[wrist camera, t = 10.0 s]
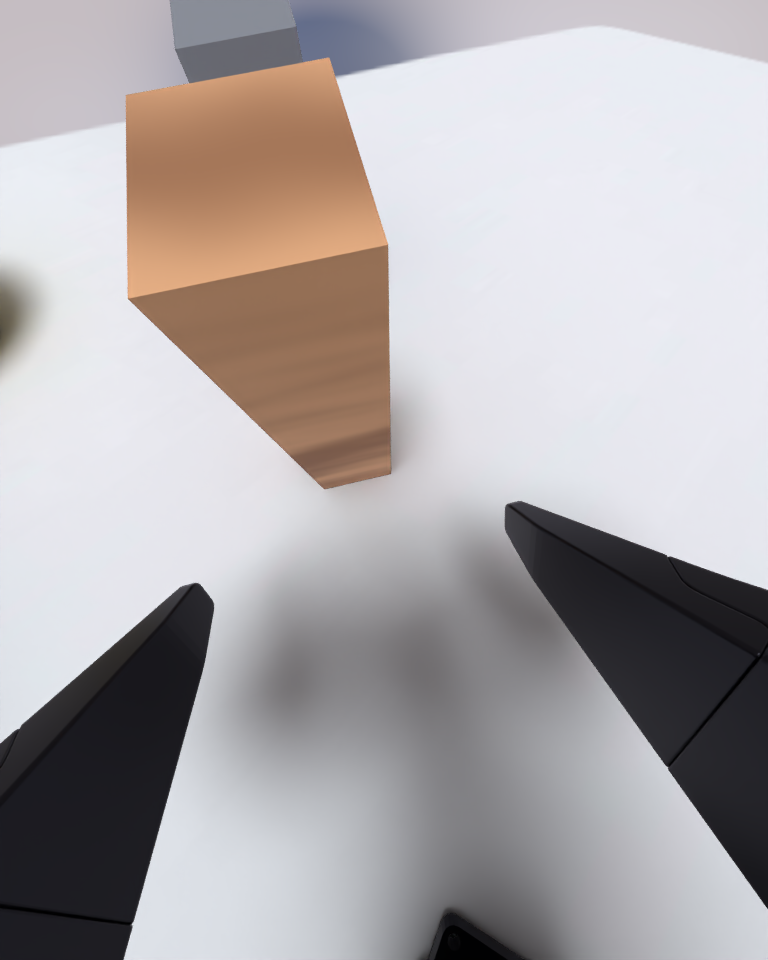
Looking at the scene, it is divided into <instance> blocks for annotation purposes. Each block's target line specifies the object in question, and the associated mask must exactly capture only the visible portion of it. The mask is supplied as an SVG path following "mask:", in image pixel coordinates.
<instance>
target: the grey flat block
mask: <svg viewBox="0 0 768 960" xmlns="http://www.w3.org/2000/svg"><path fill="white" fill-rule="evenodd" d="M170 7H171V15H172V26H173V35H174V45H175V50H176V53H177V55H178V57H179V60H180V62H181V64H182V67H183V69H184V71H185V74H186V76H187V78H188V81H189V83H194V82H200V81H205V80H211V79H216V78H221V77H227V76H232V75H238V74H243V73H249V72H254V71H259V70H265V69H270V68H276V67H281V66H287V65H292V64H297V63H303V61H302V55H301V50H300V44H299V38H298V34H297V28H296V24H295V20H294V17H293V14H292V10H291V7H290V4H289V1H288V0H170Z"/></svg>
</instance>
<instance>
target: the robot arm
mask: <svg viewBox="0 0 768 960" xmlns="http://www.w3.org/2000/svg"><path fill="white" fill-rule="evenodd" d="M505 530H506V533H507V535H508V537H509V538H510V540H511V542H512V544H513V546H514V547H515V549H516V551H517V553H518V554H519V556H520V558H521V560H522V562H523V563H524V565H525V567H526V569H527V570H528V572H529V574H530V575H531V577H532V579H533V580H534V582H535V583H536V585H537V586H538V588H539V589H540V590H541V592H542V593H543V595H544V596H545V597H546V599H547V600H548V602H549V603H550V604H551V606H552V607H553V609H554V610H555V611H556V613H557V614H558V616H559V617H560V618H561V620H562V621H563V623H564V624H565V625H566V627H567V628H568V630H569V631H570V632H571V634H572V635H573V637H574V638H575V639H576V641H577V642H578V644H579V645H580V646H581V648H582V649H583V651H584V652H585V653H586V655H587V656H588V658H589V659H590V660H591V662H592V663H593V665H594V666H595V667H596V669H597V670H598V672H599V673H600V674H601V676H602V677H603V679H604V680H605V681H606V683H607V684H608V686H609V687H610V688H611V690H612V691H613V693H614V694H615V695H616V697H617V698H618V700H619V701H620V702H621V704H622V705H623V707H624V708H625V709H626V711H627V712H628V714H629V715H630V716H631V718H632V719H633V721H634V722H635V723H636V725H637V726H638V728H639V729H640V730H641V732H642V733H643V735H644V736H645V737H646V739H647V740H648V742H649V743H650V744H651V746H652V747H653V749H654V750H655V751H656V753H657V754H658V756H659V757H660V758H661V760H662V761H663V763H664V764H665V765H666V766H667V767H668V770H669V771H670V773H671V774H672V776H673V777H674V778H675V780H676V781H677V783H678V784H679V785H680V787H681V788H682V790H683V791H684V792H685V794H686V795H687V797H688V798H689V799H690V801H691V802H692V804H693V805H694V806H695V808H696V809H697V811H698V812H699V813H700V815H701V816H702V818H703V819H704V821H705V822H706V823H707V825H708V826H709V828H710V829H711V830H712V832H713V833H714V835H715V836H716V837H717V839H718V840H719V842H720V843H721V844H722V846H723V847H724V849H725V850H726V851H727V853H728V854H729V856H730V857H731V858H732V860H733V861H734V863H735V864H736V865H737V867H738V868H739V870H740V871H741V872H742V874H743V875H744V877H745V878H746V879H747V881H748V882H749V884H750V885H751V886H752V888H753V889H754V891H755V892H756V893H757V895H758V896H759V898H760V899H761V900H762V902H763V903H764V905H765V906H766V907H767V909H768V590H766V589H763V588H760V587H757V586H754V585H751V584H748V583H745V582H742V581H739V580H736V579H733V578H730V577H726V576H724V575H721V574H718V573H715V572H712V571H710V570H707V569H704V568H701V567H698V566H695V565H693V564H690V563H687V562H685V561H682V560H679V559H676V558H674V557H671V556H669V557H667V555H665V554H663V553H660V552H657V551H655V550H652V549H649V548H646V547H644V546H641V545H638V544H636V543H633V542H630V541H628V540H625V539H622V538H619V537H617V536H614V535H611V534H609V533H606V532H603V531H600V530H598V529H595V528H592V527H590V526H587V525H584V524H582V523H579V522H576V521H573V520H571V519H568V518H565V517H563V516H560V515H557V514H555V513H552V512H549V511H546V510H544V509H541V508H538V507H536V506H533V505H530V504H528V503H525V502H522V501H517V502H513V503H509V504H507V505H506V507H505ZM213 613H214V603H213V601H212V599H211V598H210V596H209V595H208V594H207V592H206V591H205V590H204V588H203V587H202V586H201V585H200V584H198V583H192V584H188V585H185V586H182V587H180V588H179V589H178V590H176V591H175V592H174V593H173V594H172V595H171V596H170V597H168V598H167V599H166V600H165V601H164V602H163V603H162V604H160V605H159V606H158V607H157V608H156V609H155V610H153V611H152V612H151V613H150V614H149V615H148V616H147V617H145V618H144V619H143V620H142V621H141V622H140V623H139V624H137V625H136V626H135V627H134V628H133V629H132V630H130V631H129V632H128V633H127V634H126V635H125V636H124V637H122V638H121V639H120V640H119V641H118V642H117V643H116V644H114V645H113V646H112V647H111V648H110V649H109V650H107V651H106V652H105V653H104V654H103V655H102V656H101V657H99V658H98V659H97V660H96V661H95V662H94V663H93V664H91V665H90V666H89V667H88V668H87V669H86V670H84V671H83V672H82V673H81V674H80V675H79V676H78V677H76V678H75V679H74V680H73V681H72V682H71V683H70V684H68V685H67V686H66V687H65V688H64V689H63V690H61V691H60V692H59V693H58V694H57V695H56V696H55V697H53V698H52V699H51V700H50V701H49V702H48V703H47V704H45V705H44V706H43V707H42V708H41V709H40V710H38V711H37V712H36V713H35V714H34V715H33V716H32V717H30V718H29V719H28V720H27V721H26V722H25V723H24V724H22V725H21V727H20V729H17V730H15V731H14V732H13V733H12V734H11V735H10V736H8V737H7V738H6V739H5V740H4V741H3V742H2V743H0V960H124V956H125V952H126V949H127V945H128V941H129V938H130V934H131V931H132V923H133V922H134V919H135V915H136V911H137V908H138V904H139V901H140V897H141V893H142V890H143V886H144V882H145V879H146V875H147V871H148V868H149V864H150V861H151V857H152V853H153V850H154V846H155V842H156V839H157V835H158V832H159V828H160V824H161V821H162V817H163V813H164V810H165V806H166V803H167V799H168V795H169V792H170V788H171V784H172V781H173V777H174V773H175V770H176V766H177V763H178V759H179V755H180V752H181V748H182V744H183V741H184V737H185V734H186V730H187V726H188V723H189V719H190V715H191V712H192V708H193V705H194V701H195V697H196V694H197V690H198V686H199V683H200V679H201V676H202V672H203V668H204V663H205V658H206V653H207V647H208V642H209V636H210V630H211V624H212V618H213ZM453 933H455V934H457V936H456V937H454V938H451V937H449V936H450V934H453ZM428 960H524V959H522V958H521V957H519V956H518V955H516V954H515V953H513V952H512V951H510V950H509V949H507V948H506V947H504V946H503V945H501V944H500V943H498V942H497V941H495V940H494V939H492V938H491V937H489V936H488V935H486V934H485V933H483V932H482V931H480V930H479V929H477V928H476V927H474V926H473V925H471V924H470V923H468V922H467V921H465V920H464V919H462V918H461V917H459V916H458V915H456V914H453V913H450V914H447V915H445V916H444V917H443V919H442V921H441V923H440V926H439V929H438V932H437V935H436V938H435V941H434V944H433V947H432V950H431V953H430V956H429V959H428Z"/></svg>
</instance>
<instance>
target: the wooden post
mask: <svg viewBox="0 0 768 960" xmlns="http://www.w3.org/2000/svg"><path fill="white" fill-rule="evenodd" d="M126 163H127V266H128V299H129V300H130V301H131V302H132V303H133V304H134V305H135V306H136V307H137V308H138V309H139V310H140V311H141V312H142V313H143V314H144V315H145V316H146V317H147V318H148V319H149V320H150V321H151V322H152V323H153V324H154V325H155V326H157V327H158V328H159V329H160V330H161V331H162V332H163V333H164V334H165V335H166V336H167V337H168V338H169V339H170V340H171V341H172V342H173V343H174V344H175V345H176V346H177V347H178V348H179V349H180V350H181V351H182V352H183V353H184V354H185V355H186V356H187V357H188V358H190V359H191V360H192V361H193V362H194V363H195V364H196V365H197V366H198V367H199V368H200V369H201V370H202V371H203V372H204V373H205V374H206V375H207V376H208V377H209V378H210V379H211V380H212V381H213V382H214V383H215V384H216V385H217V386H218V387H219V388H220V389H221V390H223V391H224V392H225V393H226V394H227V395H228V396H229V397H230V398H231V399H232V400H233V401H234V402H235V403H236V404H237V405H238V406H239V407H240V408H241V409H242V410H243V411H244V412H245V413H246V414H247V415H248V416H249V417H250V418H251V419H252V420H253V421H254V422H255V423H257V424H258V425H259V426H260V427H261V428H262V429H263V430H264V431H265V432H266V433H267V434H268V435H269V436H270V437H271V438H272V439H273V440H274V441H275V442H276V443H277V444H278V445H279V446H280V447H281V448H282V449H283V450H284V451H285V452H286V453H287V454H288V455H290V456H291V457H292V458H293V459H294V460H295V461H296V462H297V463H298V464H299V465H300V466H301V467H302V468H303V469H304V470H305V471H306V472H307V473H308V474H309V475H310V476H311V477H312V478H313V479H314V480H315V481H316V482H317V483H318V484H319V485H320V486H321V487H323V488H324V489H328V488H332V487H336V486H340V485H345V484H349V483H353V482H358V481H362V480H366V479H370V478H375V477H379V476H383V475H388V474H391V445H390V363H389V280H388V243H387V240H386V237H385V233H384V230H383V227H382V224H381V221H380V218H379V214H378V211H377V208H376V205H375V202H374V198H373V195H372V192H371V189H370V186H369V183H368V179H367V176H366V173H365V170H364V167H363V164H362V160H361V157H360V154H359V151H358V148H357V145H356V141H355V138H354V135H353V132H352V129H351V125H350V122H349V119H348V116H347V113H346V110H345V106H344V103H343V100H342V97H341V94H340V91H339V87H338V84H337V81H336V78H335V75H334V72H333V68H332V65H331V62H330V59H329V58H325V59H319V60H314V61H309V62H303V63H297V64H292V65H287V66H281V67H276V68H270V69H265V70H259V71H254V72H249V73H243V74H238V75H232V76H227V77H221V78H216V79H211V80H205V81H200V82H194V83H189V84H183V85H178V86H173V87H167V88H162V89H157V90H151V91H146V92H141V93H135V94H130V95H126Z"/></svg>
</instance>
